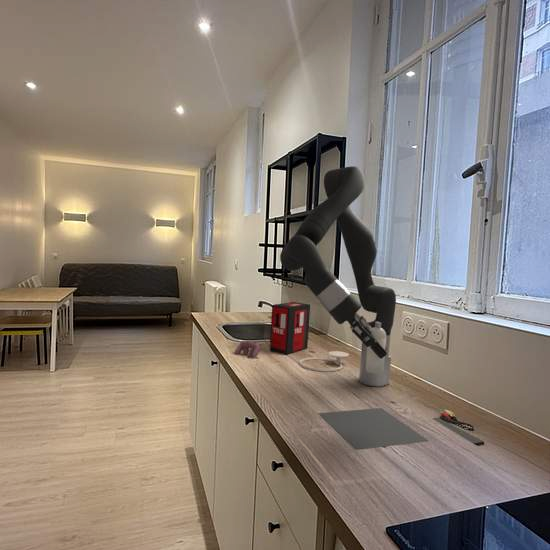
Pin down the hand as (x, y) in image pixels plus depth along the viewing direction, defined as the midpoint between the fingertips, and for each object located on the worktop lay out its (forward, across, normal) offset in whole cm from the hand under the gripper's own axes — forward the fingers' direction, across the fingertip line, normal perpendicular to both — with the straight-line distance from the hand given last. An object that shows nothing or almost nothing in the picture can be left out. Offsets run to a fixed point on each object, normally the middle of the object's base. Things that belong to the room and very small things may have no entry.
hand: (383, 353), depth 101 cm
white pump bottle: (+2, 0, +5) cm, 5 cm away
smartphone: (+27, +6, +2) cm, 28 cm away
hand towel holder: (0, +52, +29) cm, 59 cm away
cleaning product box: (-13, +68, +41) cm, 81 cm away
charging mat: (+12, 0, +15) cm, 20 cm away
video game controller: (-22, +52, +51) cm, 76 cm away
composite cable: (+29, +12, 0) cm, 31 cm away
